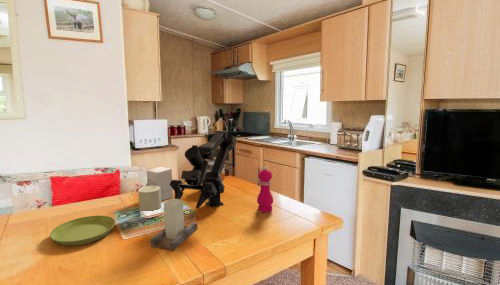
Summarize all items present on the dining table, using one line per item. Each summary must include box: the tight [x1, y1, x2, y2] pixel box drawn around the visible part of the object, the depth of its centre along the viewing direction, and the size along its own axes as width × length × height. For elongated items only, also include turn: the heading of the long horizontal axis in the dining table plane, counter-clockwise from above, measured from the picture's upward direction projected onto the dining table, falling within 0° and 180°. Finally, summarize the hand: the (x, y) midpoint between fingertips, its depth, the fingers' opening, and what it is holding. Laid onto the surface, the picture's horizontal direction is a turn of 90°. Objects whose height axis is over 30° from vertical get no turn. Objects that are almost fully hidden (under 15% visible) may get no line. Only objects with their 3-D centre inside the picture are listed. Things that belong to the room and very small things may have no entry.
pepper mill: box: [256, 166, 274, 213], centre depth 121 cm, size 7×7×20 cm
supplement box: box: [145, 166, 174, 202], centre depth 138 cm, size 9×9×15 cm
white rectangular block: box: [163, 197, 185, 239], centre depth 98 cm, size 5×4×13 cm
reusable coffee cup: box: [204, 159, 226, 184], centre depth 152 cm, size 13×13×15 cm
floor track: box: [149, 221, 199, 251], centre depth 99 cm, size 16×9×3 cm, turn 162°
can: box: [137, 185, 162, 212], centre depth 118 cm, size 9×9×12 cm
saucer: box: [49, 215, 116, 247], centre depth 102 cm, size 21×21×3 cm
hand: (186, 207), depth 105 cm, fingers open, 9 cm apart
